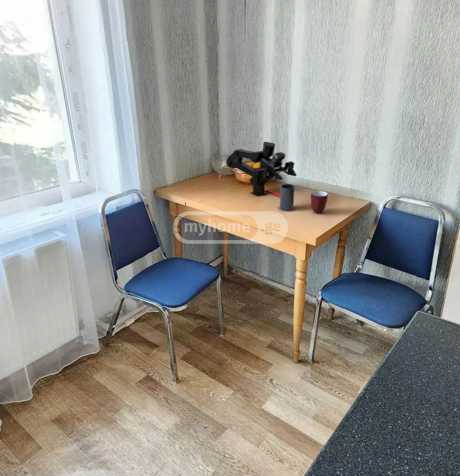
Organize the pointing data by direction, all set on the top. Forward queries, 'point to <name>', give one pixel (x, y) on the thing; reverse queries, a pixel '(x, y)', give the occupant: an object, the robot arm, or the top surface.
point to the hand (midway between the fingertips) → (289, 177)
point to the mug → (318, 201)
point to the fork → (273, 193)
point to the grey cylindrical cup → (287, 197)
